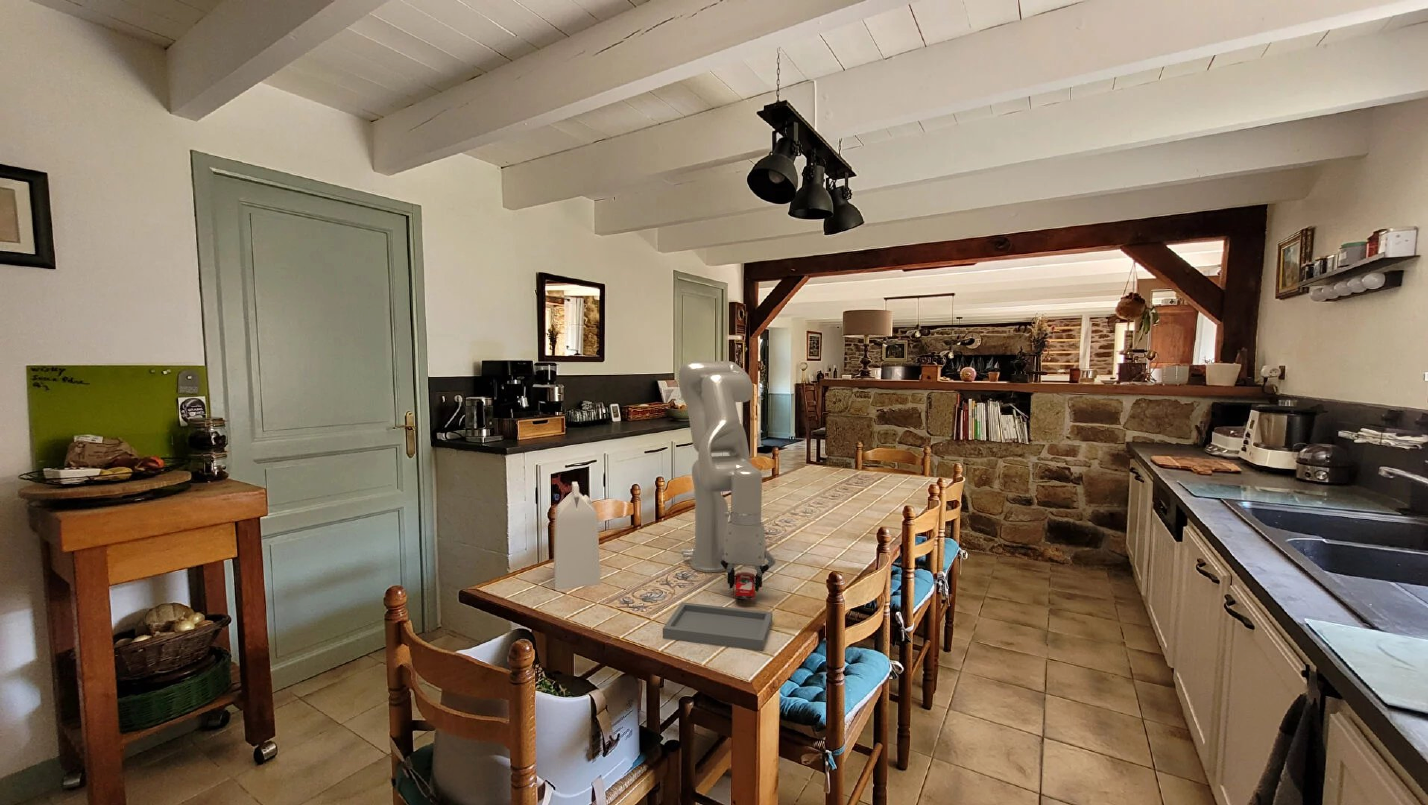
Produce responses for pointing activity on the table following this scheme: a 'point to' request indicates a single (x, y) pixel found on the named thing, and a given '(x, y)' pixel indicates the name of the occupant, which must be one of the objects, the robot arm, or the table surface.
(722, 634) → the tray
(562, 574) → the milk
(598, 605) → the table surface
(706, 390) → the robot arm
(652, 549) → the table surface
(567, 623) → the table surface
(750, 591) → the race car
